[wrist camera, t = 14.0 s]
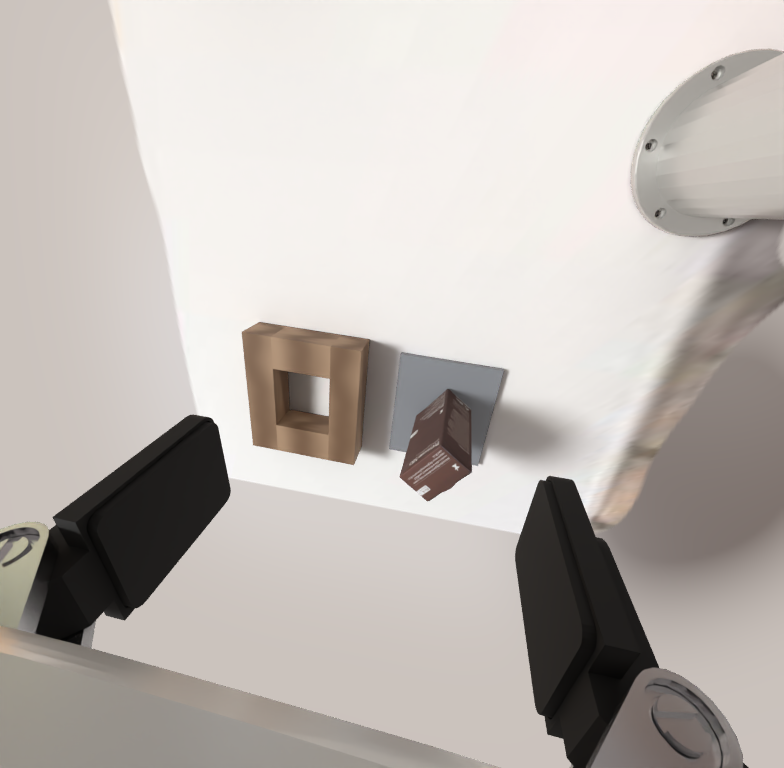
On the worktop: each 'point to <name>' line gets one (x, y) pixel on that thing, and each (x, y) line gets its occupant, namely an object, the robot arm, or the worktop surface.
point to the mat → (429, 380)
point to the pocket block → (311, 357)
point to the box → (439, 447)
